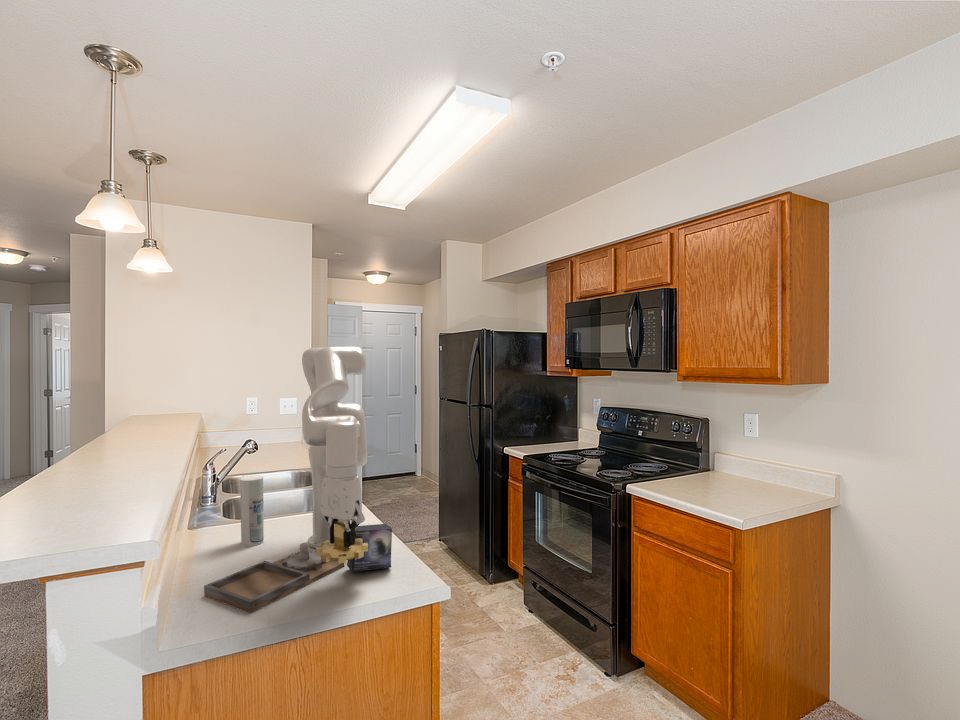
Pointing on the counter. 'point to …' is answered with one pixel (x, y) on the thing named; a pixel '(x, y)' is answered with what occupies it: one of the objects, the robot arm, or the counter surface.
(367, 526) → the small box
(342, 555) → the gear
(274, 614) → the counter surface
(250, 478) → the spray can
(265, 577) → the carrier plate
